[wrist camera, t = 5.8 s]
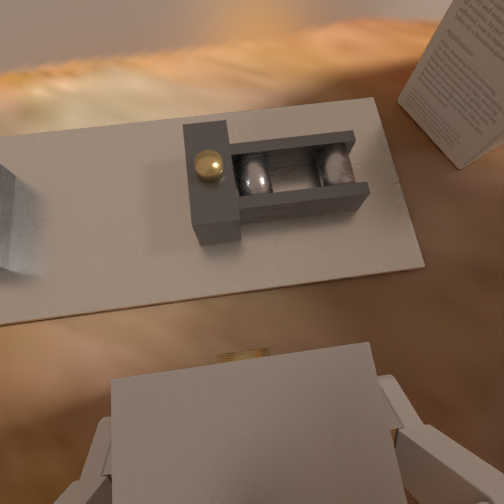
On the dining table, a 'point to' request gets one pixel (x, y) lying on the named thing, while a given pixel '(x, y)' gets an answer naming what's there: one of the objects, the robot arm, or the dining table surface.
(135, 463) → the mini drawer chest
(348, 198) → the grey long flat board
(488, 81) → the small box
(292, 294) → the dining table surface
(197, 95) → the dining table surface
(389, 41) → the dining table surface
